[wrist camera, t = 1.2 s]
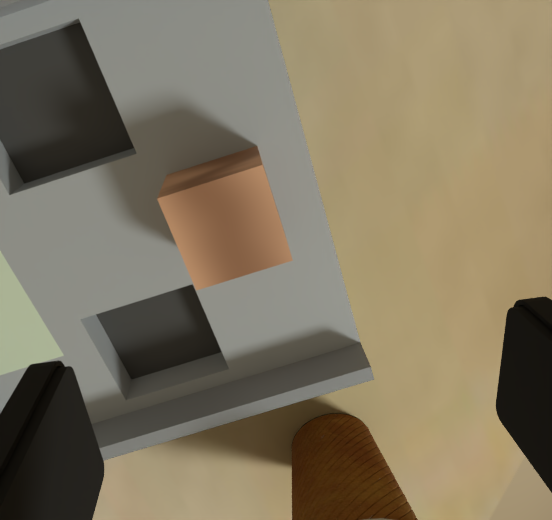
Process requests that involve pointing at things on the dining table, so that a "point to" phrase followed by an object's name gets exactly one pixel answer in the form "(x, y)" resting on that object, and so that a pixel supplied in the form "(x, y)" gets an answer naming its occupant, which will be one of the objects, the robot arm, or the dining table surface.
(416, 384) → the dining table surface
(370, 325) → the dining table surface
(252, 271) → the block
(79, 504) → the robot arm
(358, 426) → the disposable coffee cup
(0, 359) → the box
